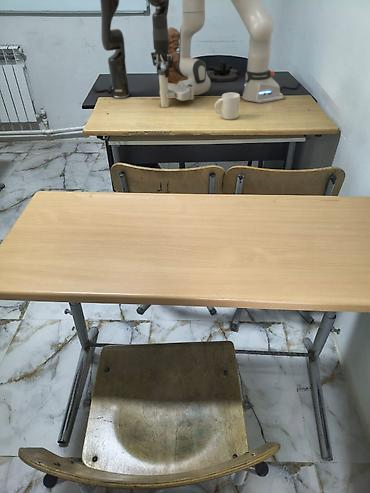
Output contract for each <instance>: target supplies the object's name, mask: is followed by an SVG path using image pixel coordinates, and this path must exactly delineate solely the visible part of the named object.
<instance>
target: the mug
mask: <svg viewBox="0 0 370 493" xmlns="http://www.w3.org/2000/svg"><path fill="white" fill-rule="evenodd" d="M240 95H241V94H239V93H238V92H225V93H223V94H222V95H221V98H219V99H217V100H216V101H215V103H214V112H215V113H216V114H218V115H221V118H223V119H224V120H235V119H237V118H238V117H239V114H240V113H239V111H240V98H241V97H240ZM220 103H221V110H219V109H218V107H219V106H218V105H220Z"/></svg>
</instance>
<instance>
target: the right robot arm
mask: <svg viewBox="0 0 370 493" xmlns="http://www.w3.org/2000/svg"><path fill="white" fill-rule="evenodd" d="M230 2H231V4H232V5H233V7H234V9H235V11H236V12H237V13H238V15H239V17H240V19H241V21H242V23H243V25H244V27H245V29H246V30H247V33H248V34H249V43H248V53H247V66H246V70H245V76H244V77H245V78H244V79H245V83H244V89H243V93H242V95H241V98H242V99H243V100H245V101H248V102H253V103H258V104H262V103H269V102H274V101H279V100H283V99H284V94H283V93H282V92H281V91H282V90H283V89H288V90H297V89H298V88H299V87H300V83H299V82H297V85H296V86H295V87H290V86H287V85H286V86H285V85H284V86H283V85H282V86H280V84H279V83H278V82H276V80H275V79H274V78H273V77H274V76H275V72H274V71H273V70H271V69H269V66H270V57H271V49H272V48H271V46H272V36H273V33H274V22H273V18H272V17H271V15H270V14H268V12H267V10H266V9H265V6H264V4H263V3H262V1H261V0H230ZM181 4H182V5H181V6H182V21H181V26H180V29H179V33H180V39H179V47H178V53H179V59H178V63H177V70H178V73H179V74H180V75H181V76H182V77H188V79H187V80H183V81H180V82H179V83H178V85H175V84H172V83H170V84H168V93H167V94H165V97H166V98H169V99H170V98H173V99H174V98H175V99H177V100H178V101H183V102H184V101H189V100H195V96H199V95H202V94H204V93H207V92H208V91H209V90H210V88H211V85H212V83H211V82H212V81H211V79H209V77H208V76H207V73H206V71H207V65H206V62H205V61H203V60H202V59H199V58H193V57H192V56H191V50H192V49H191V48H192V38H193V36H194V35H195V34H196V33H198V32H199V31H201V30H202V28H203V27H204V26H205V22H206V0H182V3H181ZM158 93H159V94H158V95H160V90H159V92H158Z"/></svg>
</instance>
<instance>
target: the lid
mask: <svg viewBox="0 0 370 493" xmlns="http://www.w3.org/2000/svg"><path fill="white" fill-rule="evenodd" d="M158 74H159V75H165V68H164V67H161V69H158Z"/></svg>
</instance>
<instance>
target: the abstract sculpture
mask: <svg viewBox="0 0 370 493" xmlns="http://www.w3.org/2000/svg"><path fill="white" fill-rule="evenodd" d="M206 73H207V76H208V77H209V79H210V82H217V83H221V82H223V83H224V82H234V81H235V80H238V75H239V71H238V70H237V68H236V69H233V66H232V64H231V65H230V64H227V63H226V62H225V60H223V59H222V58H221V59H219V60H218V66H216V65H211V66H208V70H206Z"/></svg>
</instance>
